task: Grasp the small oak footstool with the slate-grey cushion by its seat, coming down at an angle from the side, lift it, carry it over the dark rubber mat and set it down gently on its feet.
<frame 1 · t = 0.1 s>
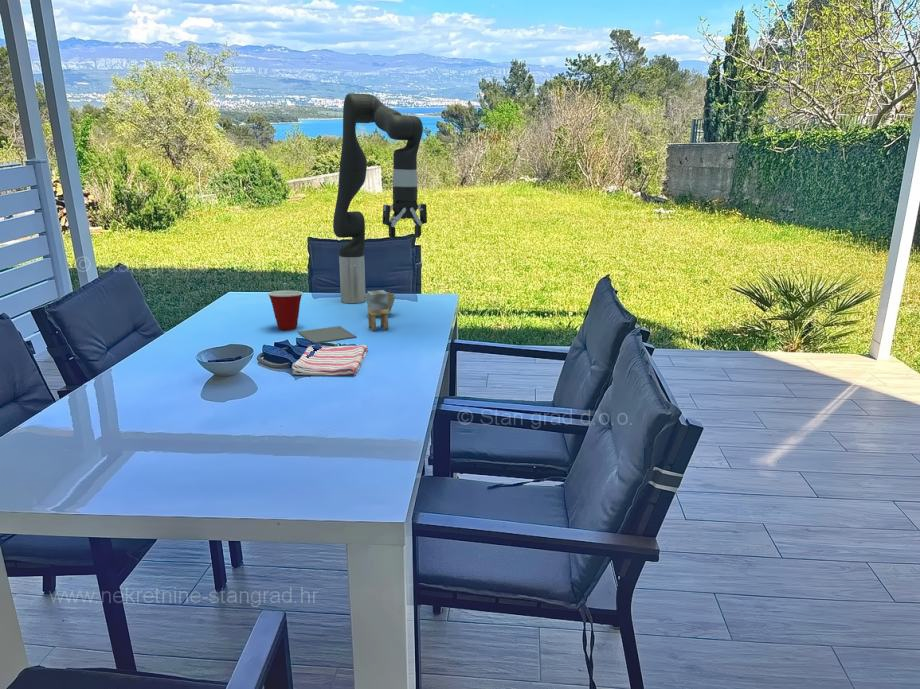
hand: (405, 238, 208), 29 cm above the table, tool pointing down, fingers open, 8 cm apart
stool: (378, 328, 215), on the table
mat: (326, 335, 208), on the table
plastic cup: (287, 328, 215), on the table
flower pot: (380, 315, 232), on the table
dish towel: (331, 364, 183), on the table
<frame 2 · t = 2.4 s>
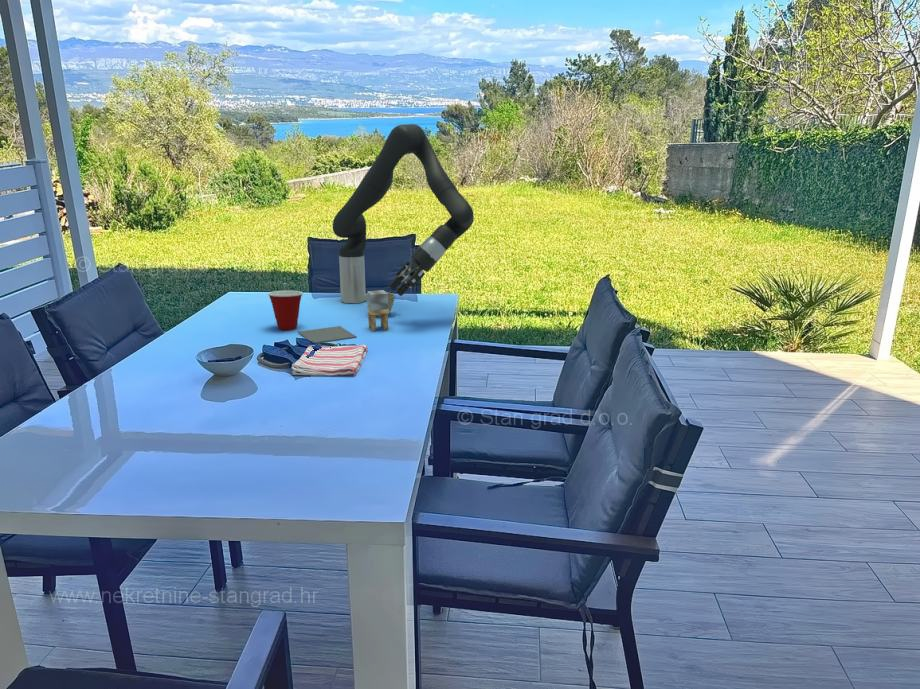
hand: (394, 291, 214), 12 cm above the table, tool tilted 45°, fingers open, 8 cm apart
nothing on the table moved.
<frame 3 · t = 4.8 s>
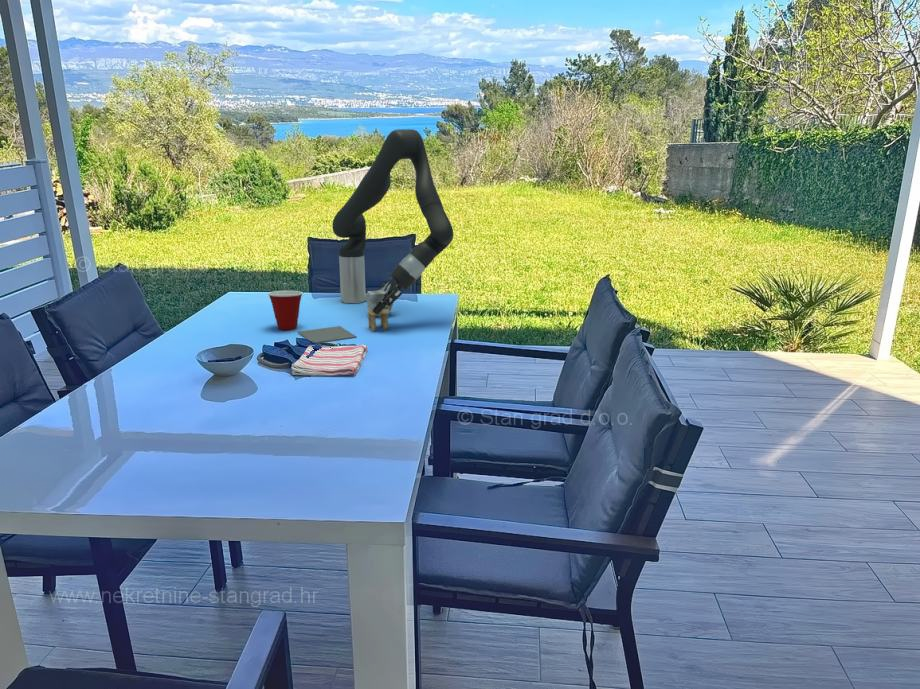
hand: (372, 310, 213), 6 cm above the table, tool tilted 45°, fingers closed on stool, 5 cm apart
stool: (378, 328, 215), on the table, touching gripper
everything else where it was.
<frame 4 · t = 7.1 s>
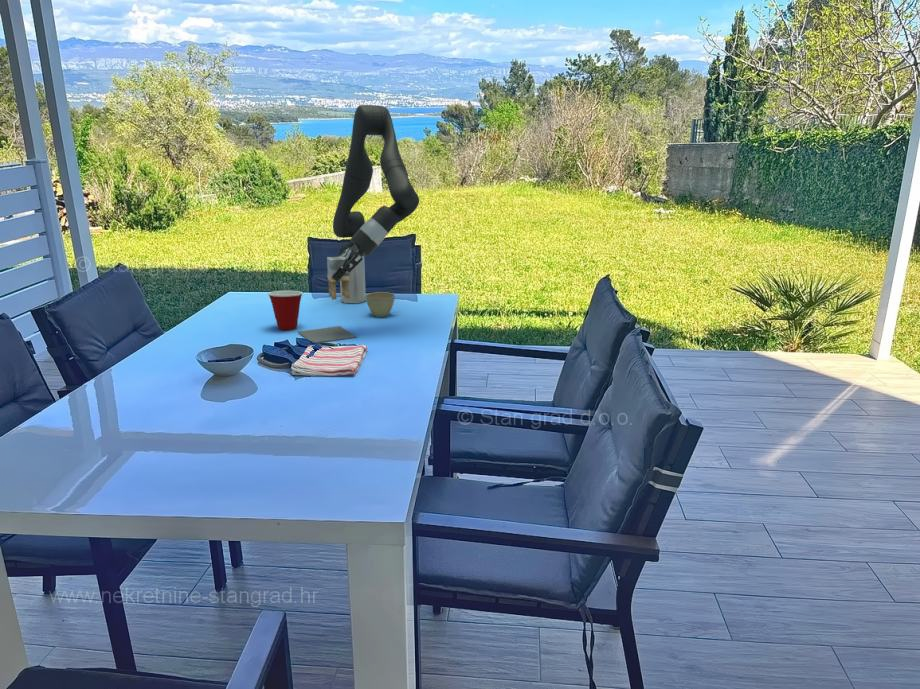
hand: (332, 277, 204), 18 cm above the table, tool tilted 45°, fingers closed on stool, 5 cm apart
stool: (339, 297, 206), point 12 cm above the table, touching gripper
everything else where it was.
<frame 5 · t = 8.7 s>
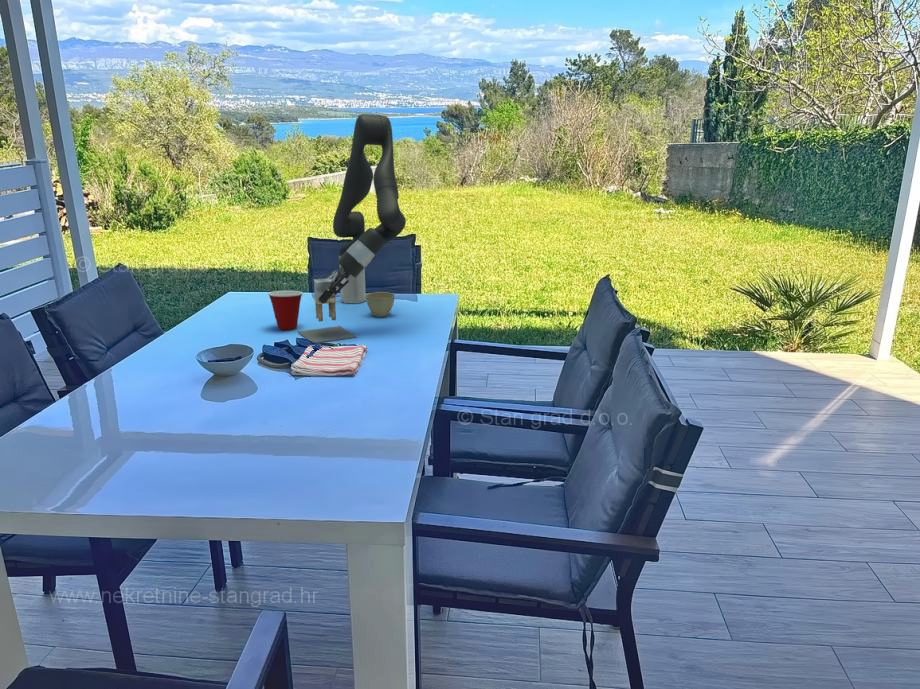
hand: (319, 299, 204), 11 cm above the table, tool tilted 45°, fingers closed on stool, 5 cm apart
stool: (326, 318, 206), point 5 cm above the table, touching gripper
everything else where it was.
when the fingers open (8 cm above the table, at t = 9.8 s): stool drops 1 cm, resting on mat.
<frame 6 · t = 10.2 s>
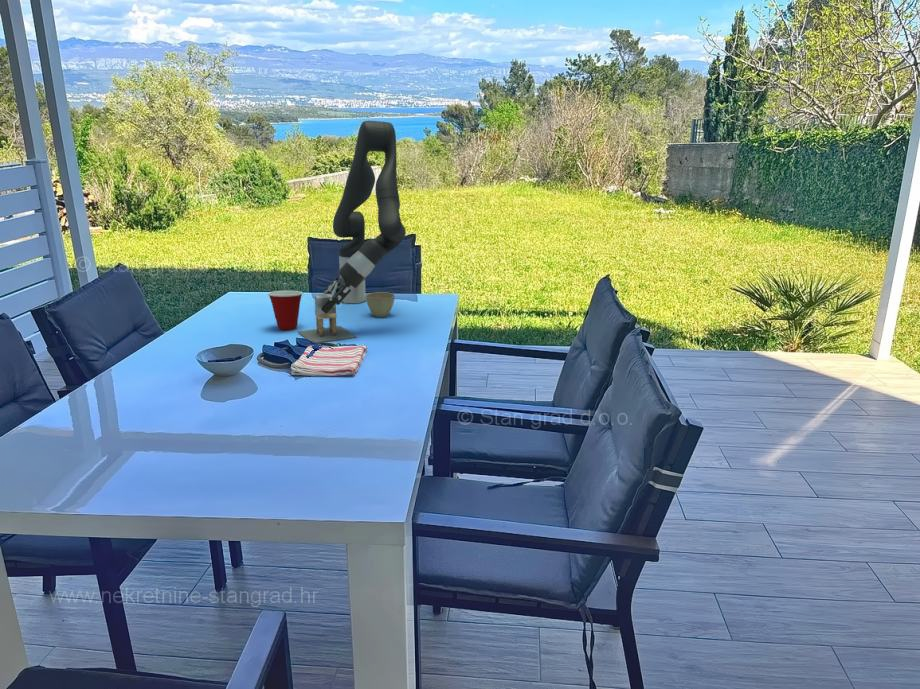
hand: (321, 308, 205), 9 cm above the table, tool tilted 45°, fingers open, 8 cm apart
stool: (326, 333, 208), resting on mat
everything else where it was.
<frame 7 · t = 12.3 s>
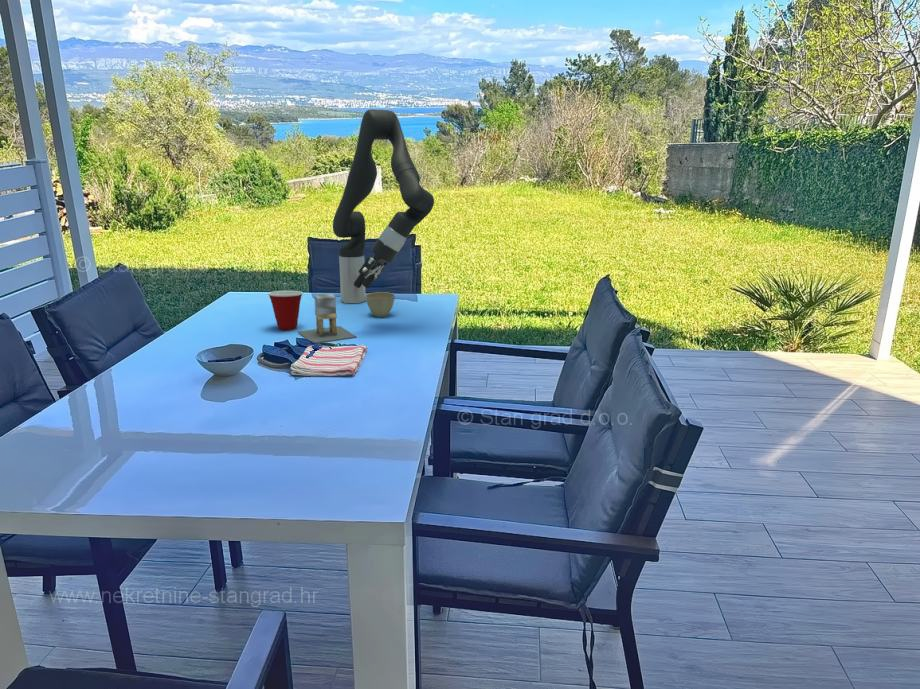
hand: (360, 286, 210), 14 cm above the table, tool tilted 35°, fingers open, 8 cm apart
nothing on the table moved.
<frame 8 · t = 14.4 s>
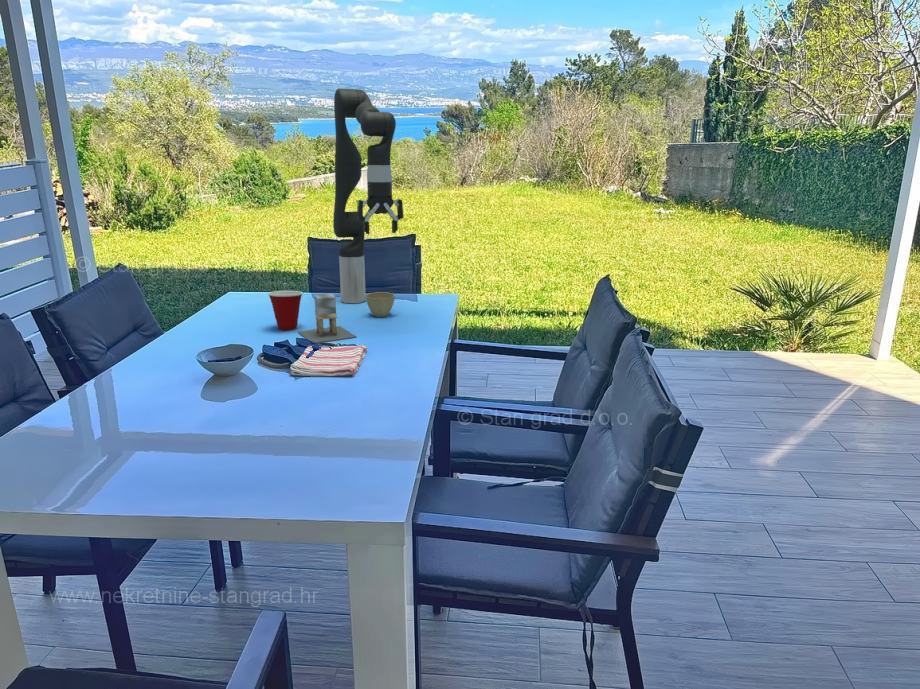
hand: (380, 233, 211), 30 cm above the table, tool pointing down, fingers open, 8 cm apart
nothing on the table moved.
at the end: stool inside the target area on the mat (0.1 cm from its centre), point 0.4 cm above the mat's base; stool tilted 0°; the gripper is holding nothing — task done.
